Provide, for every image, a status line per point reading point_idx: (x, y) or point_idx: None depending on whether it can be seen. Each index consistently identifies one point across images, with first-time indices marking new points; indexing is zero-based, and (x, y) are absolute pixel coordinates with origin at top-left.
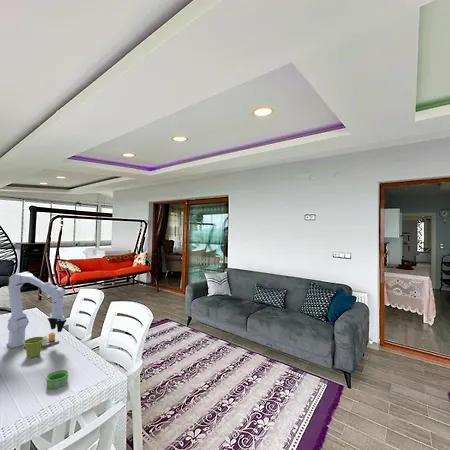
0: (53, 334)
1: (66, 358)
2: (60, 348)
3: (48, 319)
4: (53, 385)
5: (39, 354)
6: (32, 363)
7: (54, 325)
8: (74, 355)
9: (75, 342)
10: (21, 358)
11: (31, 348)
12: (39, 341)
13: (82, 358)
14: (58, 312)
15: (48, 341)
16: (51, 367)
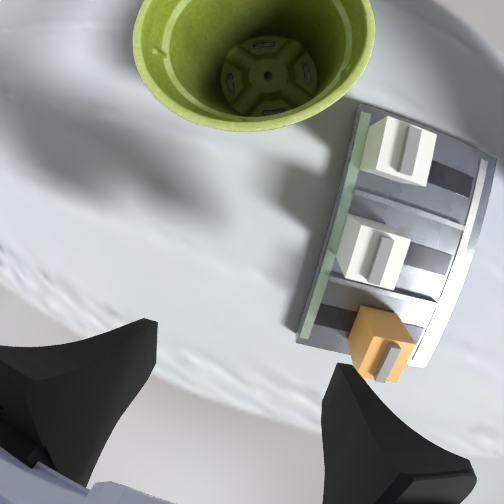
0: (361, 359)
1: (29, 170)
2: (181, 259)
3: (431, 469)
4: None
5: (225, 100)
6: None
7: (332, 427)
8: (25, 220)
9: (182, 374)
10: None
11: (210, 2)
12: (134, 31)
13: None
14: None
15: (362, 287)
16: (24, 69)
